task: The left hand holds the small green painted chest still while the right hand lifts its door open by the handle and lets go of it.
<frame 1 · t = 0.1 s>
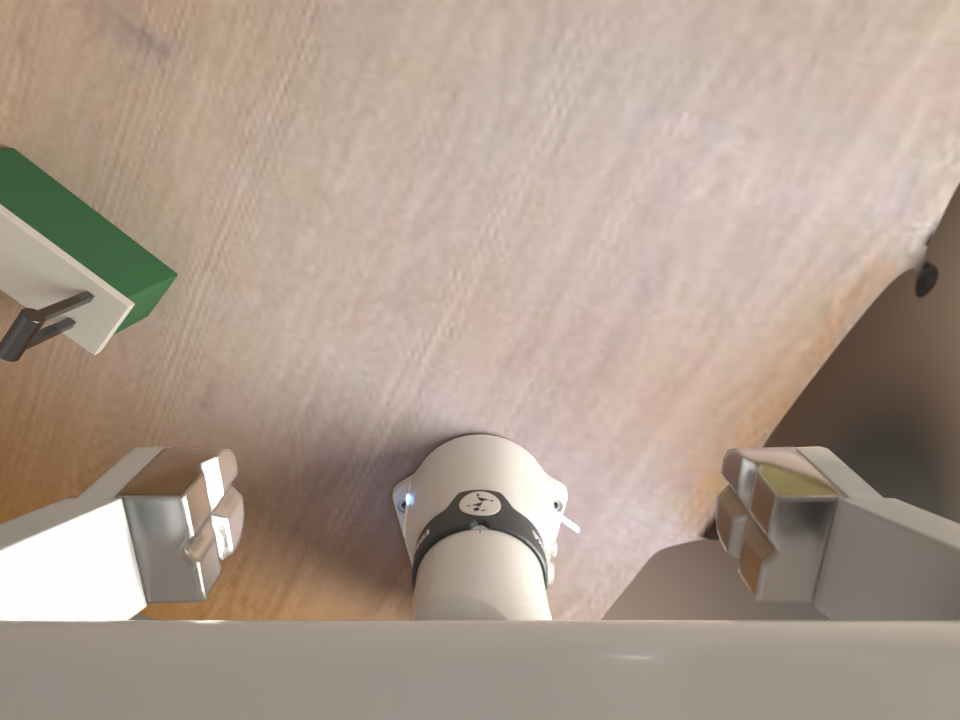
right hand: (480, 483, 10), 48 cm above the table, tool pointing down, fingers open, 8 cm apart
chest: (83, 236, 56), on the table
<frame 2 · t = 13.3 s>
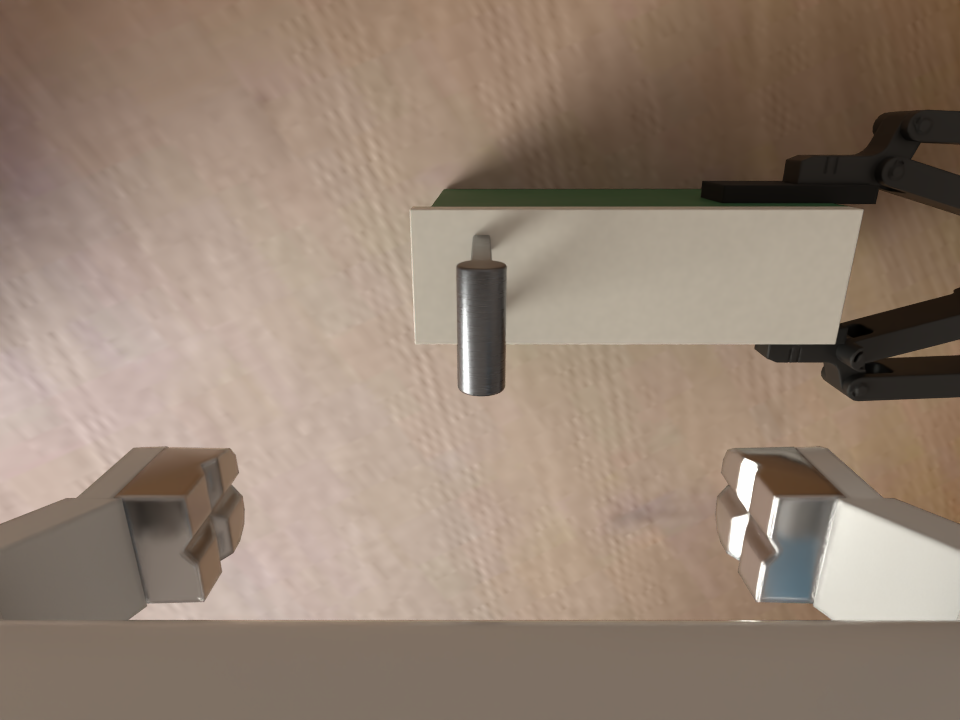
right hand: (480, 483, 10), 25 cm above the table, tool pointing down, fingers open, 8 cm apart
chest: (596, 240, 34), on the table, touching left hand
door: (651, 299, 22), point 13 cm above the table, hinge at 0.0°
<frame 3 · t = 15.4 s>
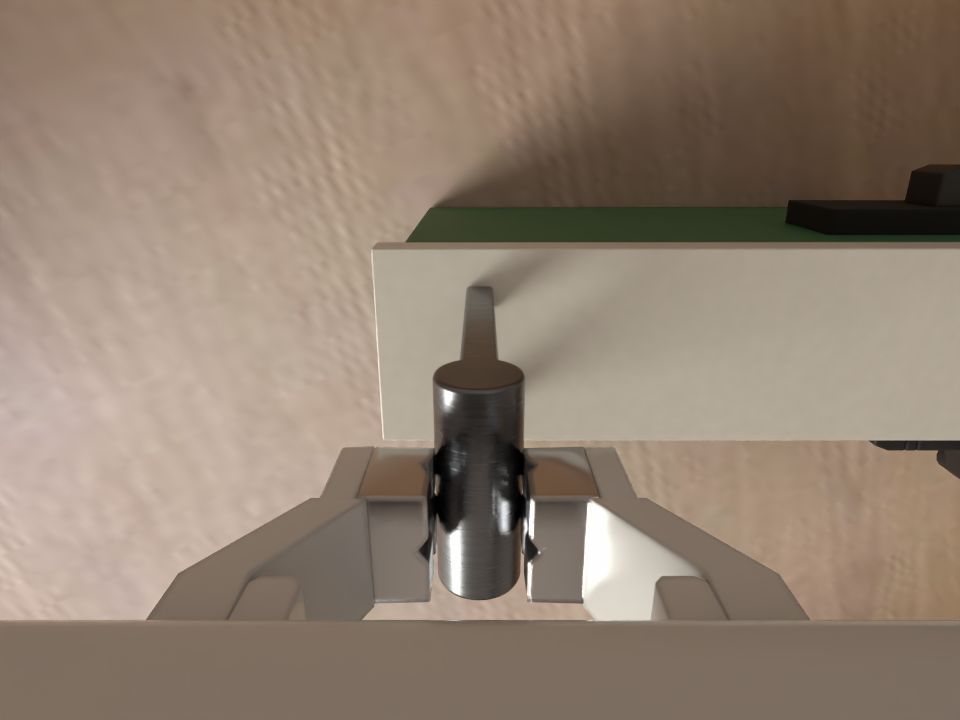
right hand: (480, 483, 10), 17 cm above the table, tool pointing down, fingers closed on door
chest: (630, 274, 26), on the table, touching left hand
door: (749, 397, 14), point 13 cm above the table, hinge at 0.0°, touching right hand
when the left hand's fingers open (6 cm above the table, at t = 23.9 s): chest stays where it is, on the table.
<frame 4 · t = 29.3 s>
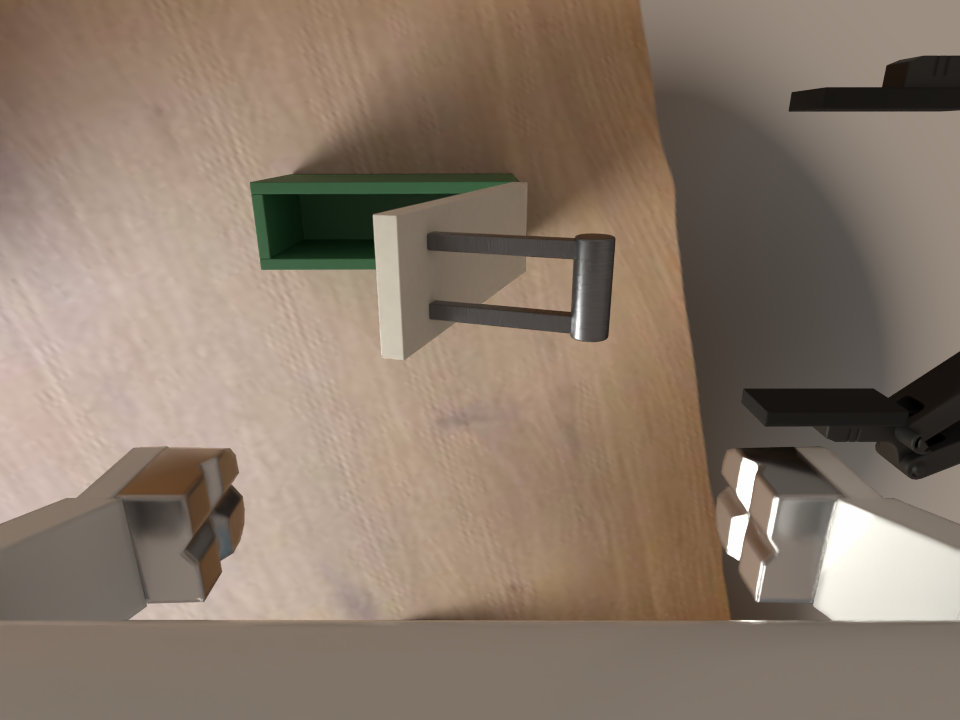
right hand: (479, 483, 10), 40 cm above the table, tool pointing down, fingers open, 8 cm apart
left hand: (776, 266, 27), fingers open, 13 cm apart
chest: (403, 211, 47), on the table
door: (542, 255, 29), point 19 cm above the table, hinge at 70.4°
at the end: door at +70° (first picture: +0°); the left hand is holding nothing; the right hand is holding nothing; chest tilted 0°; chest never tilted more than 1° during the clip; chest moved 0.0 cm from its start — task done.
